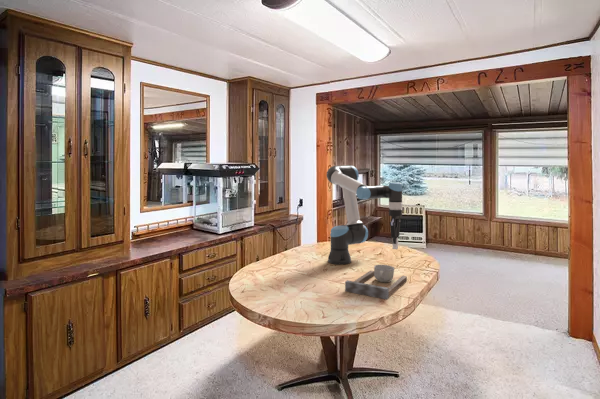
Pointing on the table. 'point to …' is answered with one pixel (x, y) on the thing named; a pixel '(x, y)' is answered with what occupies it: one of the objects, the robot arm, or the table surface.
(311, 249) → the table surface
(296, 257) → the table surface
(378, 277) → the teacup
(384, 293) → the guide track
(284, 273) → the table surface
